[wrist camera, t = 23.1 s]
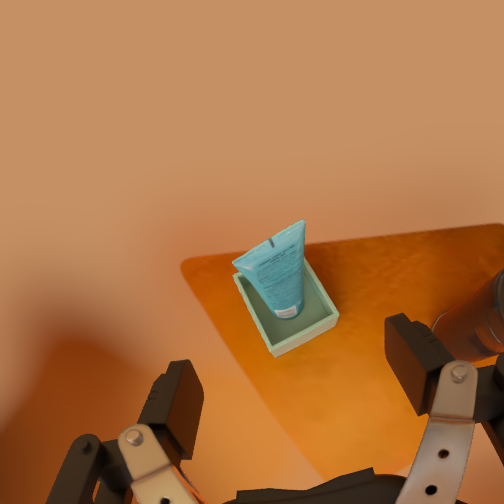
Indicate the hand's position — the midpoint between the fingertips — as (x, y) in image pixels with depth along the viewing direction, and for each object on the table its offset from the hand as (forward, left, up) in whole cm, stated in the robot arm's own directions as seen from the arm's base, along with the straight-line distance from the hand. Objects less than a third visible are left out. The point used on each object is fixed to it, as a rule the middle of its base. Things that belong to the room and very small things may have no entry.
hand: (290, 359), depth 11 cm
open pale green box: (-3, -11, -33) cm, 35 cm away
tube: (-3, -11, -30) cm, 32 cm away
